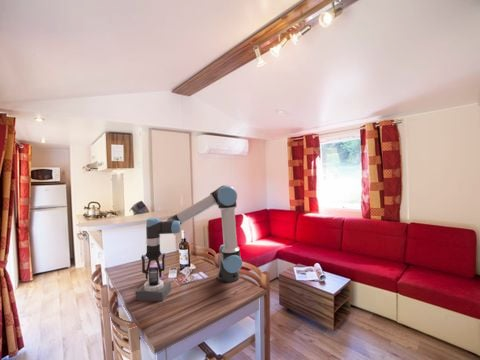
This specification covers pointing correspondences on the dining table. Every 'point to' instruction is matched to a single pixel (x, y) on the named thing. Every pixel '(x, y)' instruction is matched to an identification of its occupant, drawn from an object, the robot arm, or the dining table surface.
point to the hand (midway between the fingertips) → (153, 283)
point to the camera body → (153, 291)
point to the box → (158, 269)
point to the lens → (153, 276)
